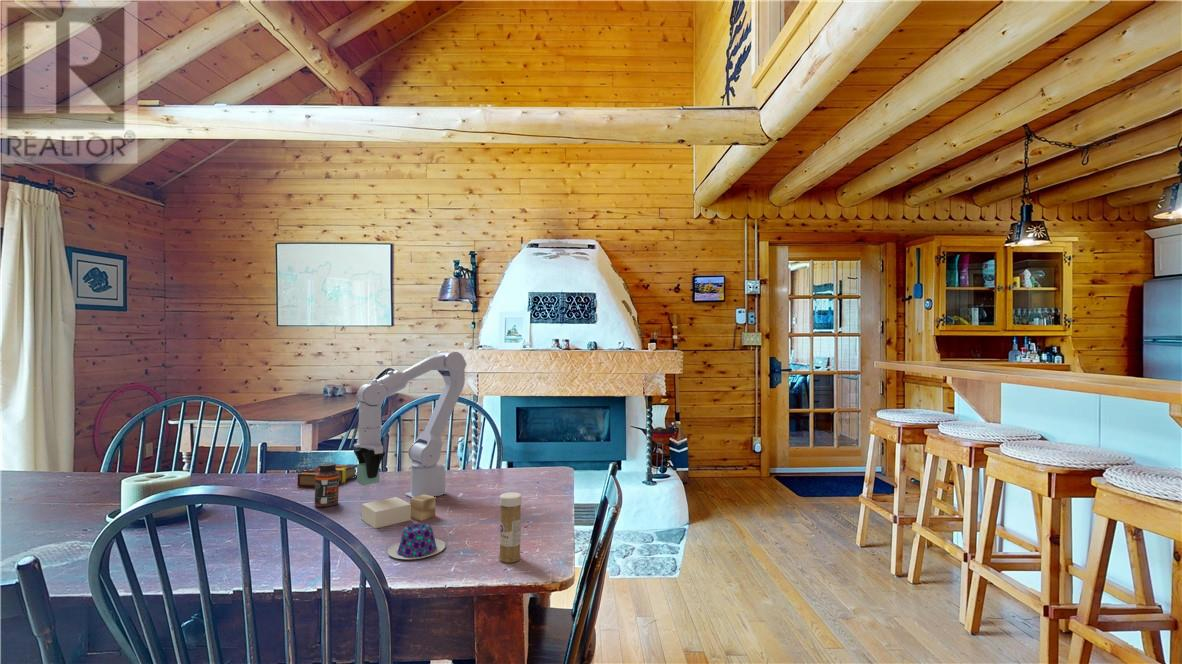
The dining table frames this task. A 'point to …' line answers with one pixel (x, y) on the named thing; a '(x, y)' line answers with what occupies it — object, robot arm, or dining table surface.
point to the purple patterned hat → (416, 543)
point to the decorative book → (310, 475)
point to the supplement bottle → (327, 485)
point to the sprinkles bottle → (510, 527)
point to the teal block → (365, 475)
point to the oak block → (422, 507)
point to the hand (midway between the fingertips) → (368, 475)
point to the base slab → (386, 512)
